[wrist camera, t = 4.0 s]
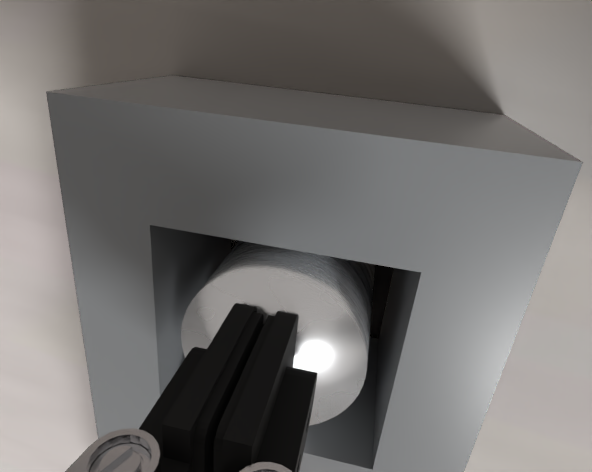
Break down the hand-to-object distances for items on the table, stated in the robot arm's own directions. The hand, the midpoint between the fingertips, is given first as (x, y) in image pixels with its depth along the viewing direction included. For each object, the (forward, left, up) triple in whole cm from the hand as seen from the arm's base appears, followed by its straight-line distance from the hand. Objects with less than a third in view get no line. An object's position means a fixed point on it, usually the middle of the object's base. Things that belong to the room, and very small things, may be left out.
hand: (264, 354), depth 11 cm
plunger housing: (0, +6, -6) cm, 8 cm away
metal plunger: (0, 0, -6) cm, 6 cm away
